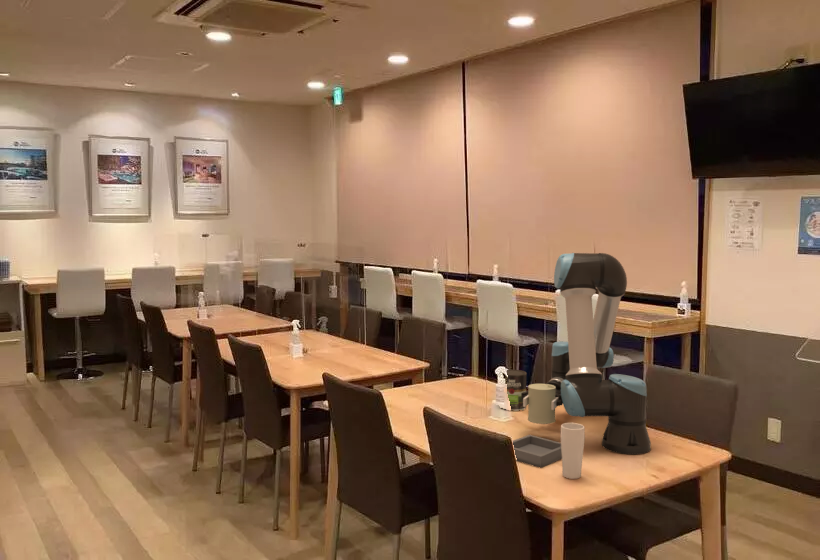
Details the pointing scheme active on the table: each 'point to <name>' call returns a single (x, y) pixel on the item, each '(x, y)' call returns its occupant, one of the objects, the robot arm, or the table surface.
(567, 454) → the drinking glass
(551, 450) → the tray
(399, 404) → the table surface
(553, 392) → the can
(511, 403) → the coffee can
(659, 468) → the table surface
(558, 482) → the table surface
